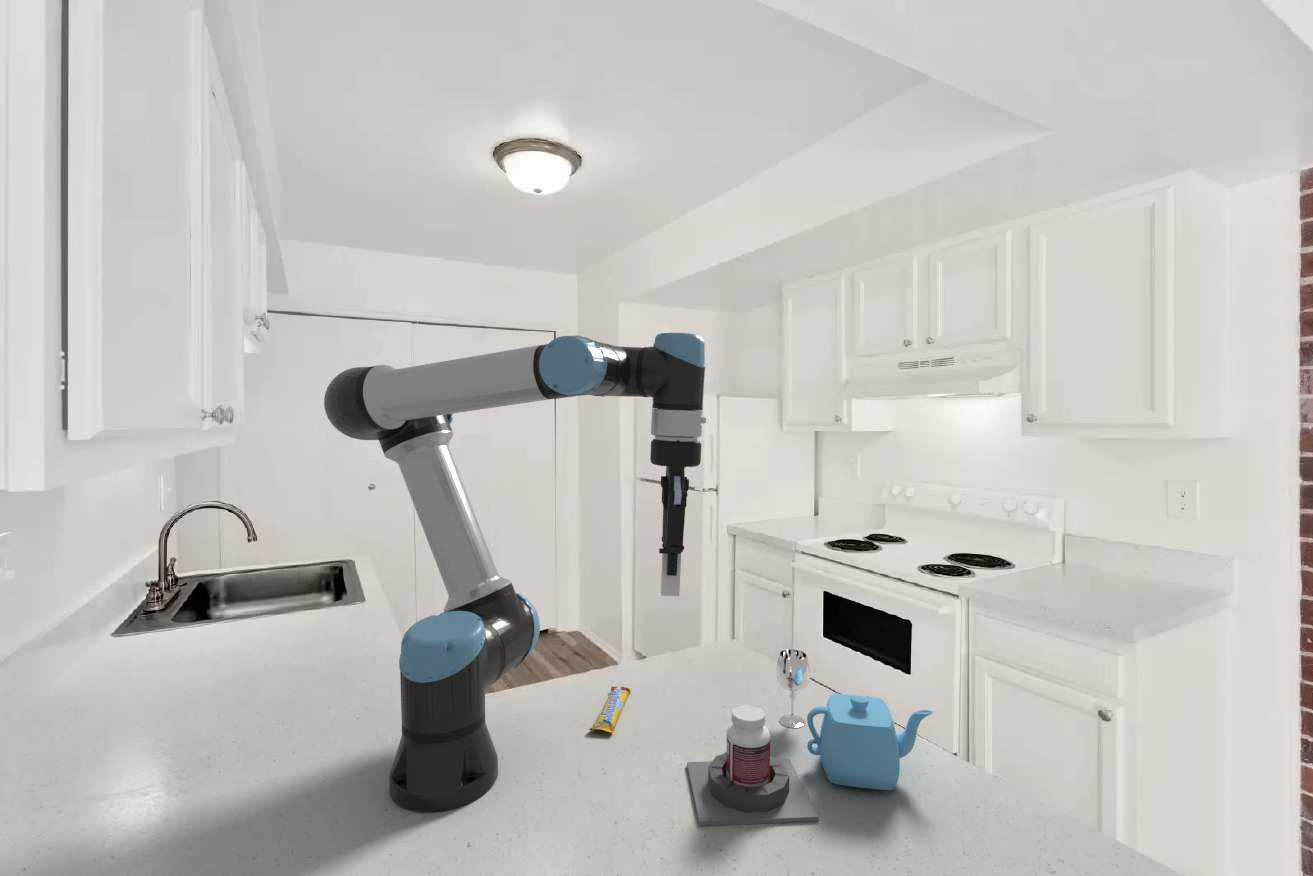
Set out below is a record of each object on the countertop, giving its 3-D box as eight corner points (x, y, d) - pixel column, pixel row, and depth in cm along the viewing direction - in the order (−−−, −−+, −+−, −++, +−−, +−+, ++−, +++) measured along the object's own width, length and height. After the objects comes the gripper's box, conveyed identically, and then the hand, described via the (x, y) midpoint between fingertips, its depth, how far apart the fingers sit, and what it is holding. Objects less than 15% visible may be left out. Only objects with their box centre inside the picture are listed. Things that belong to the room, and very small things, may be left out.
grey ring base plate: (699, 826, 84) (699, 804, 84) (687, 765, 98) (687, 747, 98) (818, 821, 85) (818, 799, 85) (789, 762, 99) (789, 743, 99)
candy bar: (611, 693, 124) (611, 683, 124) (632, 694, 123) (632, 685, 123) (588, 737, 107) (588, 726, 107) (612, 739, 106) (612, 729, 106)
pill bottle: (778, 791, 91) (780, 715, 90) (746, 807, 87) (747, 728, 86) (748, 770, 96) (749, 699, 95) (717, 784, 92) (717, 710, 91)
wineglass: (812, 717, 113) (813, 651, 112) (805, 733, 108) (806, 663, 107) (779, 711, 116) (780, 646, 115) (771, 725, 110) (772, 657, 110)
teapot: (940, 806, 88) (942, 726, 88) (807, 789, 92) (808, 712, 92) (922, 758, 100) (924, 687, 100) (805, 745, 104) (806, 676, 104)
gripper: (707, 442, 89) (699, 609, 90) (696, 436, 101) (690, 582, 103) (653, 440, 88) (646, 608, 90) (649, 435, 101) (643, 581, 103)
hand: (670, 594), depth 96 cm, fingers closed
